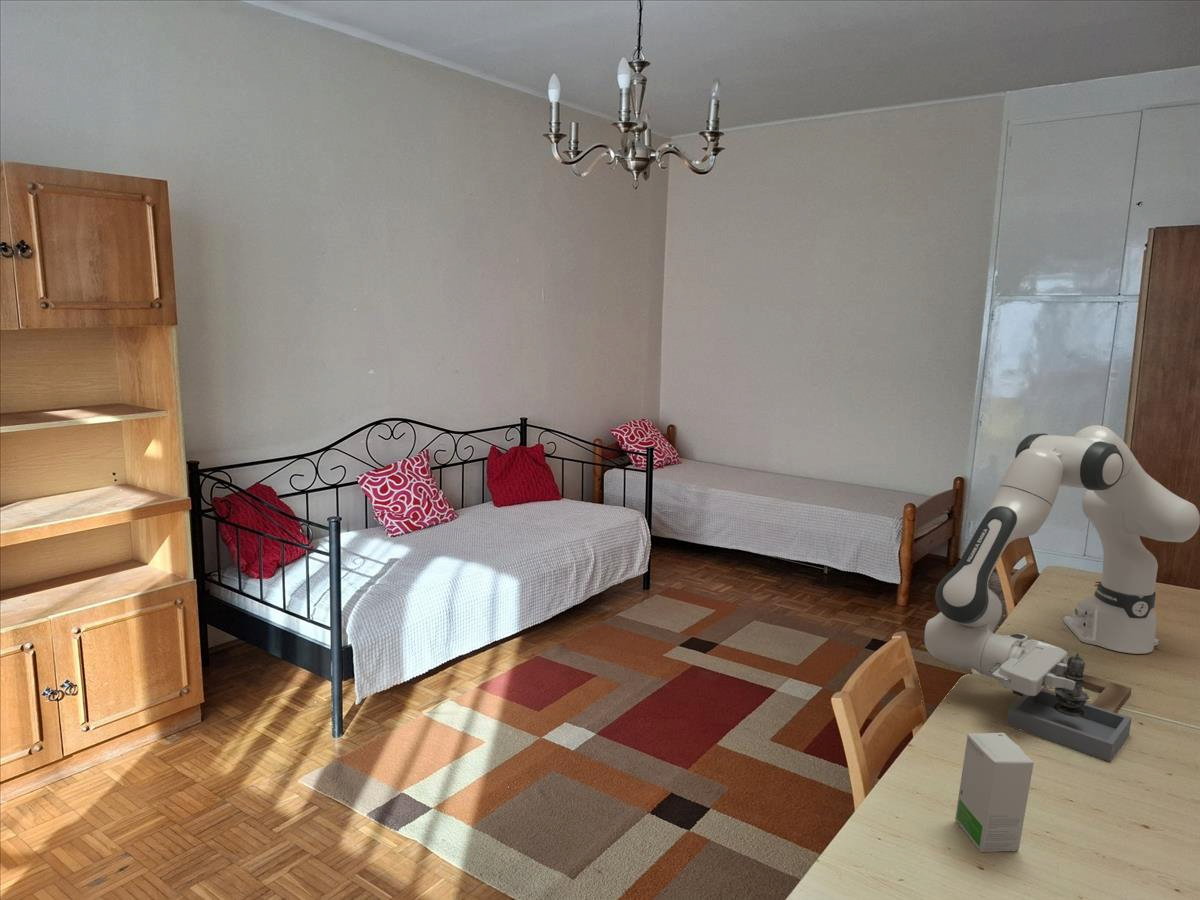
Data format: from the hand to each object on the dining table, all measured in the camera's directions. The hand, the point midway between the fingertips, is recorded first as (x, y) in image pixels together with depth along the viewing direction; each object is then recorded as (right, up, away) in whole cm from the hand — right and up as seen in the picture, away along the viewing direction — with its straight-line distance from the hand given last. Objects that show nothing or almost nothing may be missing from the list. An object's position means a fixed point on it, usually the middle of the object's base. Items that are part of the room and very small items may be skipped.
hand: (1078, 681), depth 160 cm
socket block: (+9, -8, +18) cm, 21 cm away
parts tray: (-1, -10, +3) cm, 11 cm away
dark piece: (-1, -6, +2) cm, 7 cm away
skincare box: (-32, -16, -30) cm, 47 cm away
